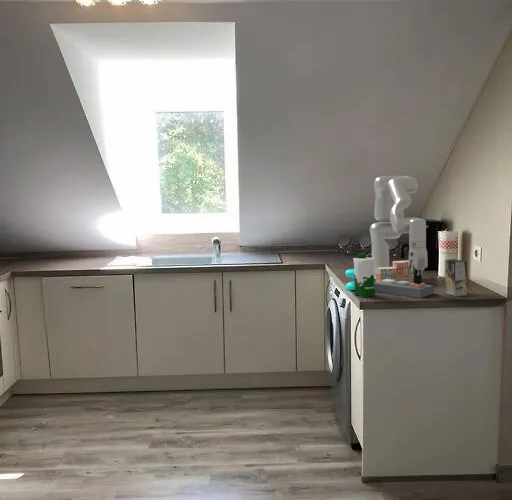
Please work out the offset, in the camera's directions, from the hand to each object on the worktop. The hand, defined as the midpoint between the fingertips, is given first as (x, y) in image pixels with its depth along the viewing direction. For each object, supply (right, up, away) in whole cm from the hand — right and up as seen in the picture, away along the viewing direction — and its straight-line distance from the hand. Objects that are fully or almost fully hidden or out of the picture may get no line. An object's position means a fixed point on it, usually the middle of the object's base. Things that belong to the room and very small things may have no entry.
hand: (417, 283), depth 253 cm
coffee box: (+18, -5, 0) cm, 19 cm away
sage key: (-5, -3, +6) cm, 9 cm away
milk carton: (-25, -6, +3) cm, 25 cm away
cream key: (-11, -2, +12) cm, 16 cm away
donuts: (-26, -5, +19) cm, 32 cm away
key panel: (-5, -5, +7) cm, 10 cm away
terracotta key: (0, -3, +1) cm, 3 cm away
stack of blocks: (-2, -3, +29) cm, 29 cm away
